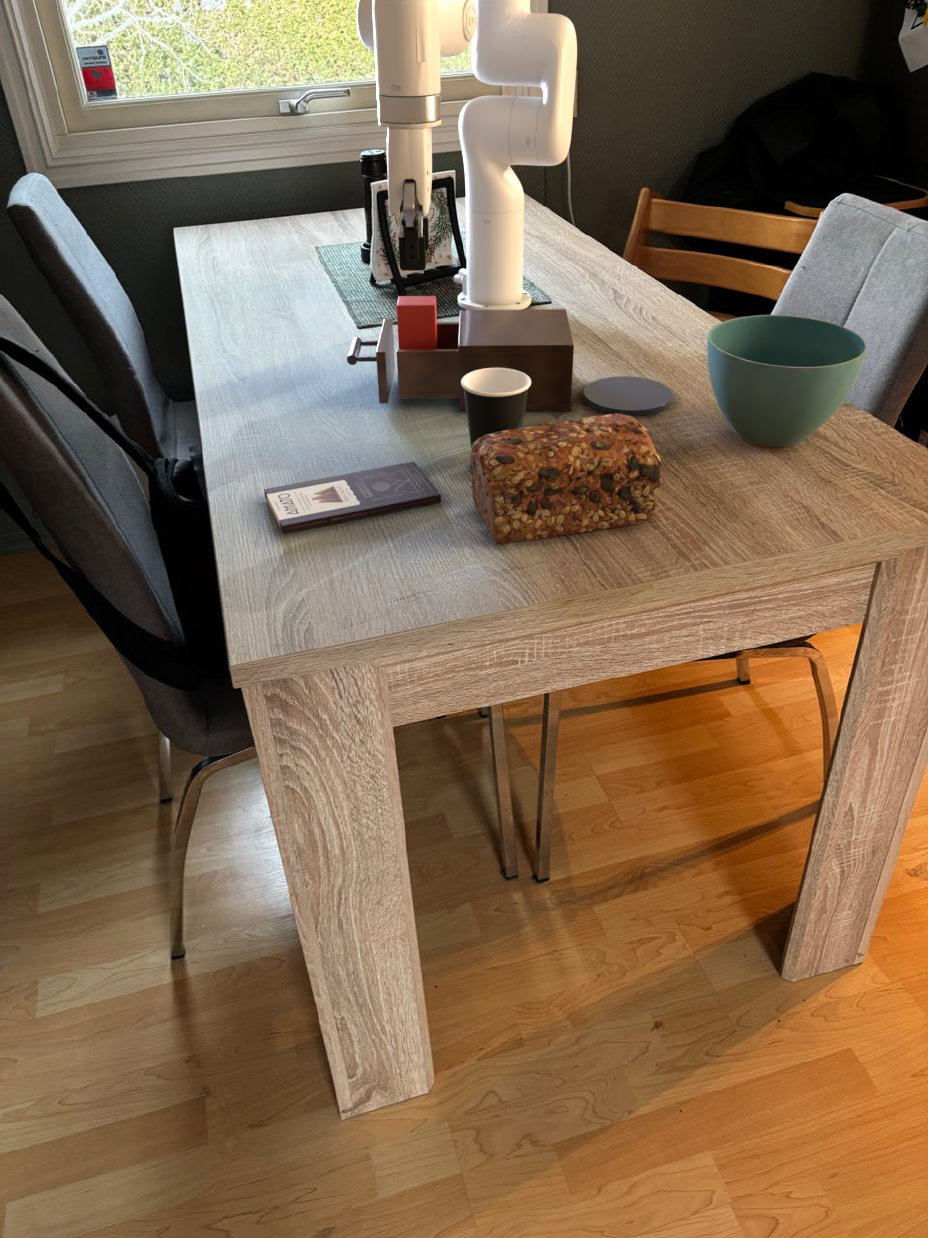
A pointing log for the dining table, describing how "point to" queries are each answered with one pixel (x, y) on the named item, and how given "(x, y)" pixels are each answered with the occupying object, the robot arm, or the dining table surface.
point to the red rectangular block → (417, 322)
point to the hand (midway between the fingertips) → (414, 259)
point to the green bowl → (781, 374)
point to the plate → (628, 395)
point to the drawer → (414, 364)
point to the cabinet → (521, 351)
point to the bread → (565, 477)
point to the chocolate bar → (350, 496)
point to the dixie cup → (495, 400)
